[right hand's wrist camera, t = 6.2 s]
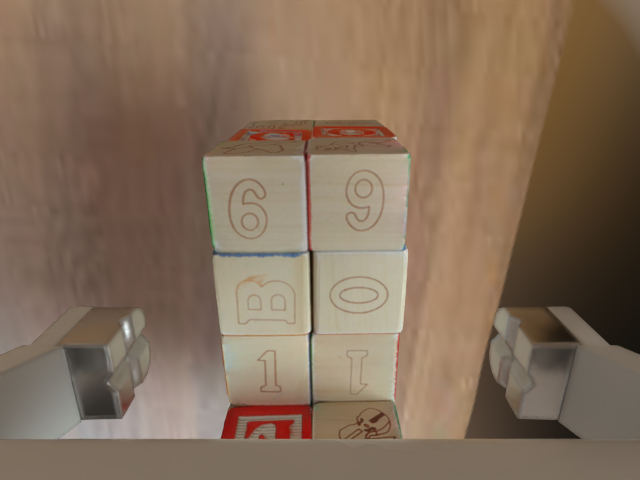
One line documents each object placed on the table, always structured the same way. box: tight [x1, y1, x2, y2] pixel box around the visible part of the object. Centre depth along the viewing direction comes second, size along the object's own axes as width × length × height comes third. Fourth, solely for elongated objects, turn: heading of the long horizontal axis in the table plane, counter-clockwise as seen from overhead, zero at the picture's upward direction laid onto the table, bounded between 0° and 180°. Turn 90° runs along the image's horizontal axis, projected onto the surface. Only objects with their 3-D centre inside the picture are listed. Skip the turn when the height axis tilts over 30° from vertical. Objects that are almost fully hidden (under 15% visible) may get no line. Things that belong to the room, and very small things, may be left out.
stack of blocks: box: [203, 120, 411, 439], centre depth 19 cm, size 21×6×12 cm, turn 0°
